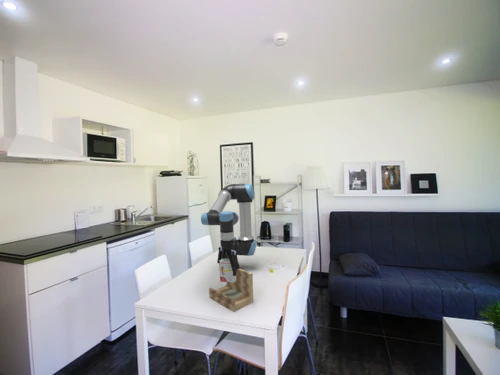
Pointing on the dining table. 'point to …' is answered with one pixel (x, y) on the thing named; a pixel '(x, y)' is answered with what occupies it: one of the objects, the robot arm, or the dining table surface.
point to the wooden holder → (235, 291)
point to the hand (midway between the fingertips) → (228, 278)
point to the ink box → (225, 270)
